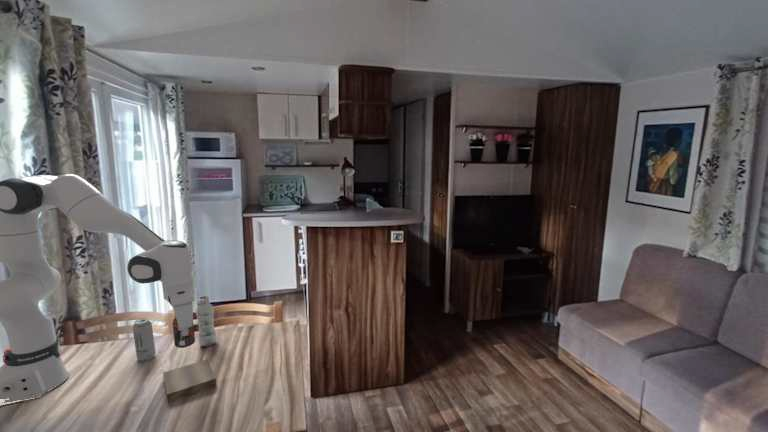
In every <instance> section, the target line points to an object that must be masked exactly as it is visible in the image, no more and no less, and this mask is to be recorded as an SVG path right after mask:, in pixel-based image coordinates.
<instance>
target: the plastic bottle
mask: <svg viewBox="0 0 768 432" xmlns="http://www.w3.org/2000/svg"><path fill="white" fill-rule="evenodd" d="M198 304H199V305H198V306H197V308H196V310H195V315H196V319H197V323H198V336H197V337H198V338H197V339H198V345H200V346H201V347H209V346H210V347H211V346H213V345H214V344H215V343H216V342H217V339H218V337H217V333H216V329H215V326H214V325H215V324H214V323H215V321H214V319H215V317H214V316H215V314H214V313H215V308H214V305H212V304H211V303H210V297H209V296H207V295H203V296H199V297H198Z"/></svg>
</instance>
